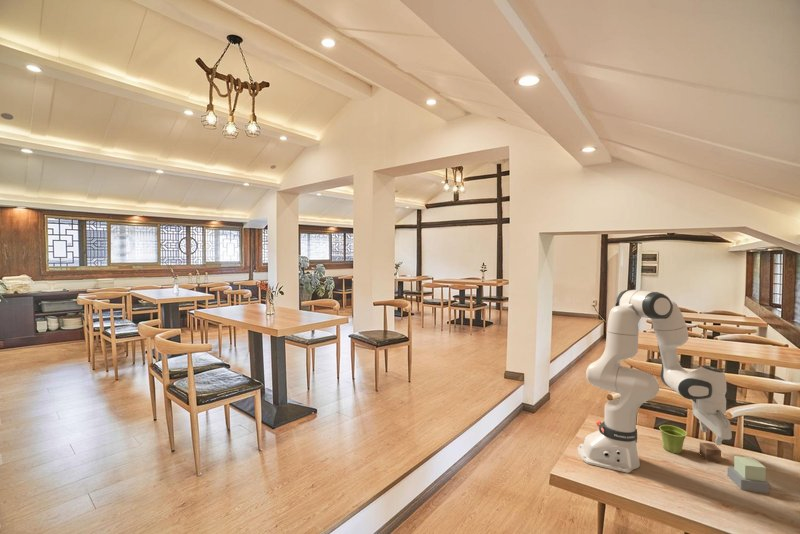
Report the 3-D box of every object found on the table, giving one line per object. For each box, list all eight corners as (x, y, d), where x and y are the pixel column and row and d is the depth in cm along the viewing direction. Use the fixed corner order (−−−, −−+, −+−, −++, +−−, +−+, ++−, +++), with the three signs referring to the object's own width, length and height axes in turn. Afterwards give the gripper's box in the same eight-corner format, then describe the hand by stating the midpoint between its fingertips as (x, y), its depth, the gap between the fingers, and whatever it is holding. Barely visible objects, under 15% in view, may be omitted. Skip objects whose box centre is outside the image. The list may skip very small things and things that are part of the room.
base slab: (741, 490, 127) (741, 479, 127) (727, 476, 134) (727, 466, 134) (768, 494, 125) (769, 483, 124) (753, 480, 132) (753, 469, 132)
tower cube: (744, 478, 127) (745, 465, 127) (734, 468, 133) (734, 455, 133) (765, 481, 125) (765, 467, 125) (753, 471, 131) (753, 458, 131)
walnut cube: (706, 460, 144) (706, 448, 144) (699, 453, 149) (699, 442, 149) (720, 462, 143) (721, 450, 143) (713, 455, 148) (713, 443, 147)
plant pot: (691, 457, 147) (692, 436, 146) (666, 455, 148) (666, 434, 148) (678, 444, 156) (679, 425, 155) (654, 442, 158) (655, 424, 157)
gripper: (737, 418, 134) (736, 453, 135) (706, 395, 154) (705, 425, 155) (717, 417, 136) (717, 451, 137) (689, 394, 156) (688, 424, 157)
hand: (710, 437), depth 146 cm, fingers open, 8 cm apart
